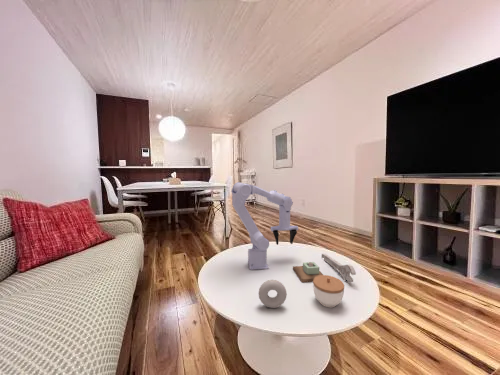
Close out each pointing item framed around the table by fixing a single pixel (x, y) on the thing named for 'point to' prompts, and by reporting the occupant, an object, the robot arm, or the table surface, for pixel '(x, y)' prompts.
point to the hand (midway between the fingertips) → (284, 243)
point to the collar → (311, 268)
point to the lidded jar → (328, 290)
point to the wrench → (341, 268)
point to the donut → (272, 301)
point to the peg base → (303, 275)
